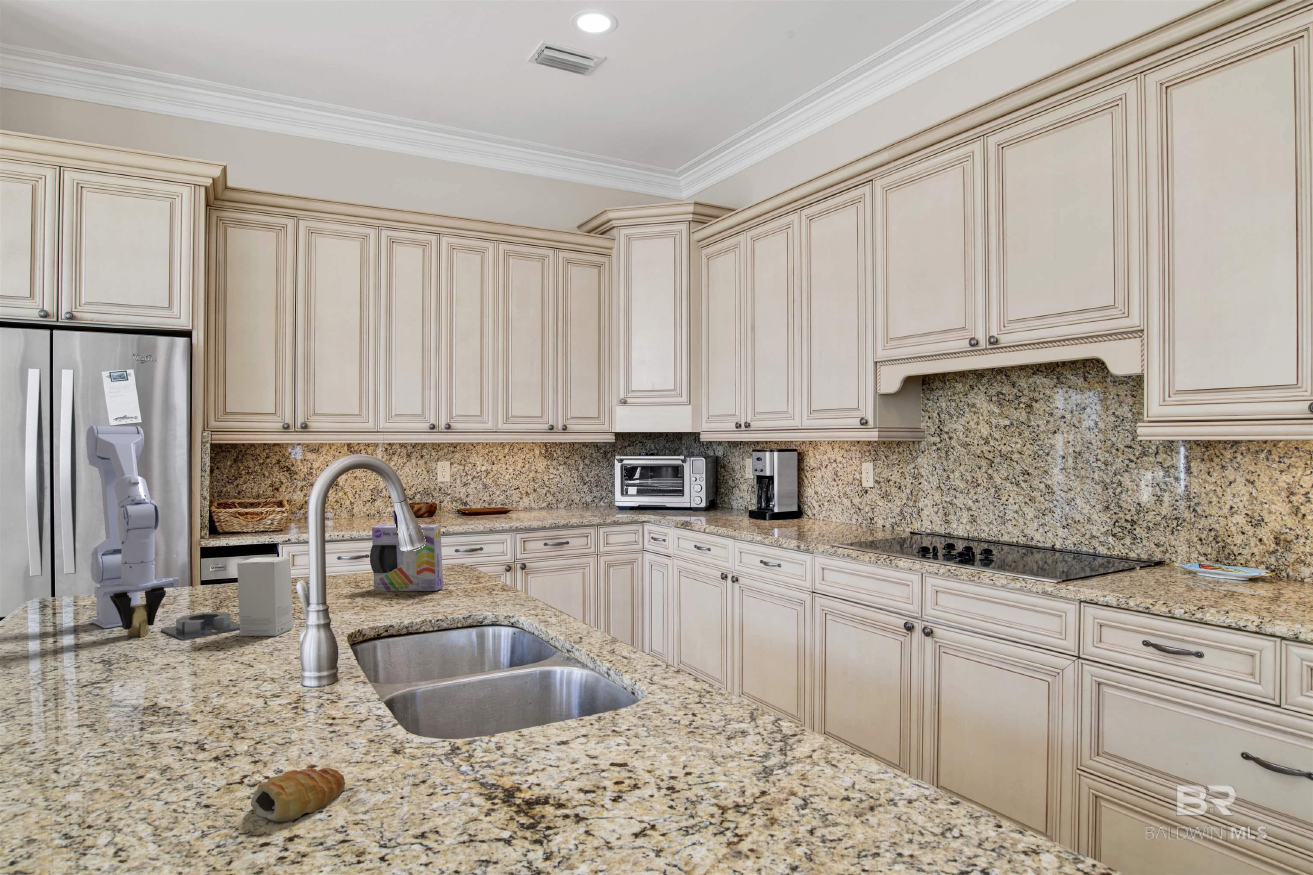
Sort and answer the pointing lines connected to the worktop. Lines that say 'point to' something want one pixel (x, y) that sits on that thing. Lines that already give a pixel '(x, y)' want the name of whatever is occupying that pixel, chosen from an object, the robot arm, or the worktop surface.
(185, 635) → the hub plate
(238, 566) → the skincare box
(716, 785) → the worktop surface
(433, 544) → the cake pan box
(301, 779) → the pastry
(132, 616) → the gold metal block
